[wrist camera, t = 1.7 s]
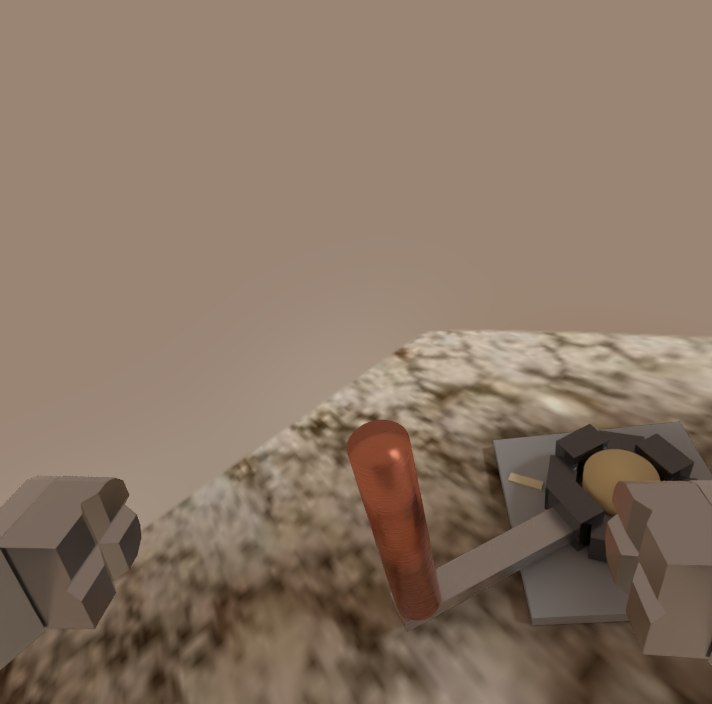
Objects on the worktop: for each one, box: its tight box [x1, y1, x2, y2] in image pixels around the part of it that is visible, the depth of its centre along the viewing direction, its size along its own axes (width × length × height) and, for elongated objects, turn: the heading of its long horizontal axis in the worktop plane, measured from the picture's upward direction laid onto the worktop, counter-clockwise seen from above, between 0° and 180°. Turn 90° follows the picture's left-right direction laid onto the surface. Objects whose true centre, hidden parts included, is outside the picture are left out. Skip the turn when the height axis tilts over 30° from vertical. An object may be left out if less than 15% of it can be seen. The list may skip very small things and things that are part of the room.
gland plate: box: [493, 421, 712, 626], centre depth 35 cm, size 14×14×4 cm
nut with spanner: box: [347, 420, 698, 632], centre depth 29 cm, size 21×9×16 cm, turn 112°
